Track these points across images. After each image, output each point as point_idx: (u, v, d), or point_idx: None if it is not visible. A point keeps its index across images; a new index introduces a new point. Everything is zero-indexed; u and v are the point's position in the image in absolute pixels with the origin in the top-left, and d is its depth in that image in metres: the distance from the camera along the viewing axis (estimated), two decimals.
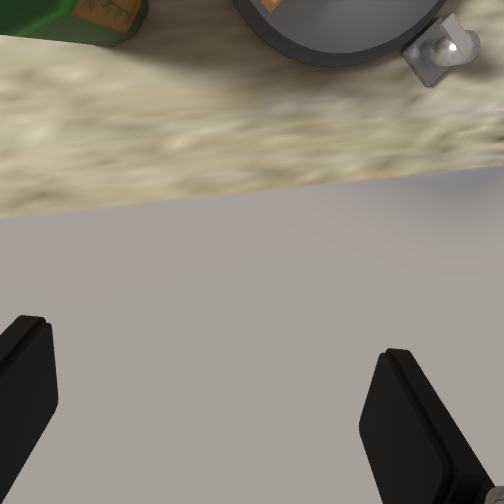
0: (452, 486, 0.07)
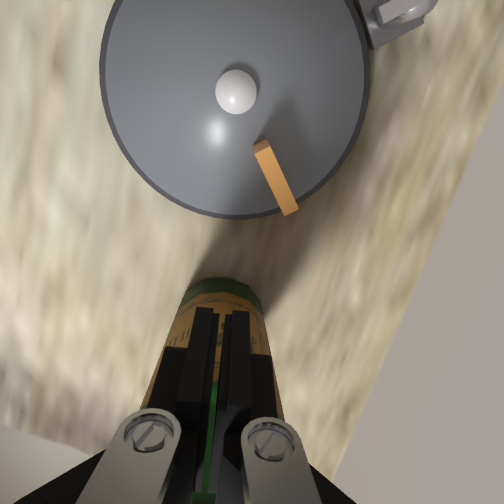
0: (225, 417, 0.08)
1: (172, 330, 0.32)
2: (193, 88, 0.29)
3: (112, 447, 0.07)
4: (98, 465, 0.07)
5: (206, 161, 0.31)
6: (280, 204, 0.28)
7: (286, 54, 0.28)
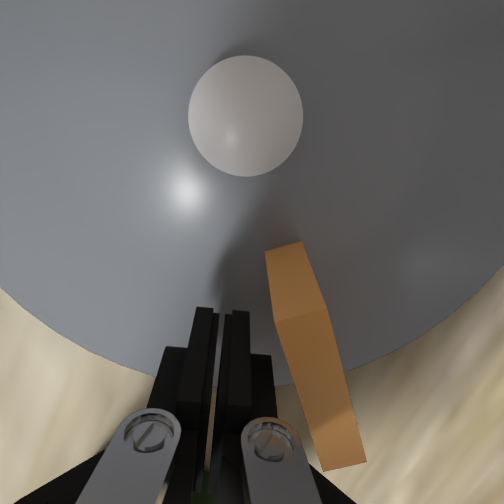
0: (225, 417, 0.08)
1: None
2: (130, 87, 0.10)
3: (112, 447, 0.07)
4: (98, 465, 0.07)
5: (144, 268, 0.12)
6: (319, 447, 0.10)
7: (400, 40, 0.10)
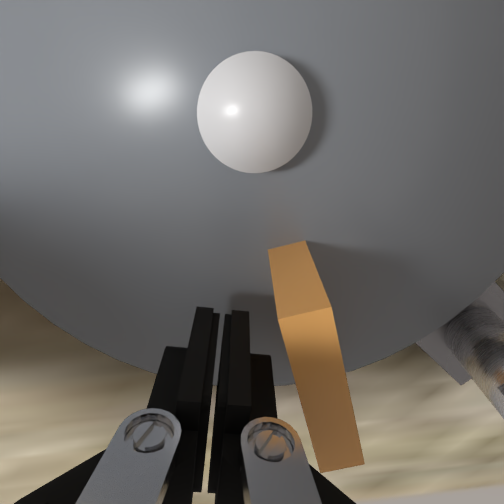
0: (224, 417, 0.08)
1: None
2: (140, 79, 0.10)
3: (112, 447, 0.07)
4: (98, 465, 0.07)
5: (146, 262, 0.12)
6: (318, 447, 0.10)
7: (412, 42, 0.10)
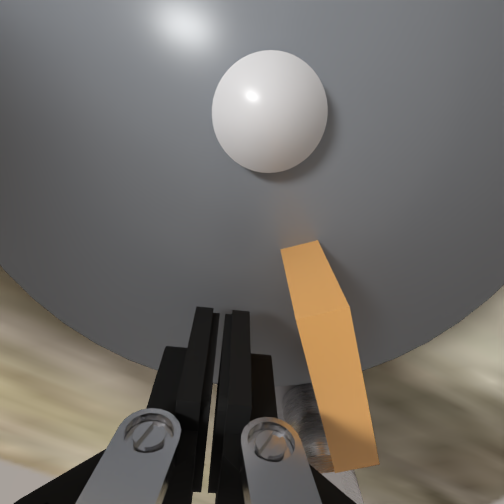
0: (225, 417, 0.08)
1: None
2: (154, 78, 0.10)
3: (112, 447, 0.07)
4: (98, 465, 0.07)
5: (158, 262, 0.12)
6: (333, 448, 0.10)
7: (427, 41, 0.10)
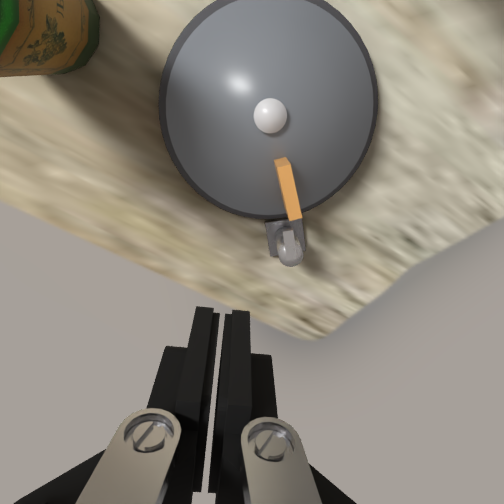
0: (225, 417, 0.08)
1: None
2: (236, 105, 0.36)
3: (112, 447, 0.07)
4: (98, 465, 0.07)
5: (233, 164, 0.38)
6: (288, 211, 0.35)
7: (315, 95, 0.35)
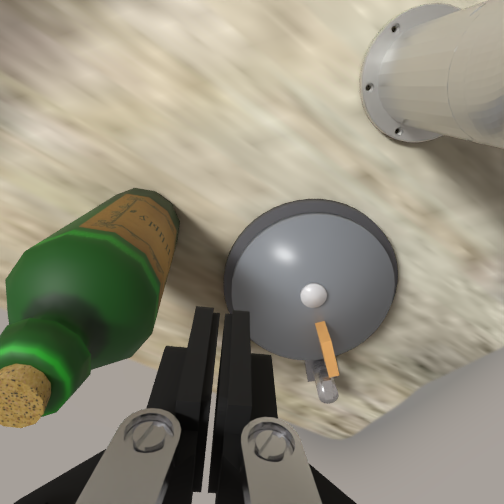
0: (225, 417, 0.08)
1: (162, 224, 0.37)
2: (287, 287, 0.45)
3: (112, 447, 0.07)
4: (98, 465, 0.07)
5: (283, 326, 0.47)
6: (328, 371, 0.45)
7: (349, 280, 0.45)
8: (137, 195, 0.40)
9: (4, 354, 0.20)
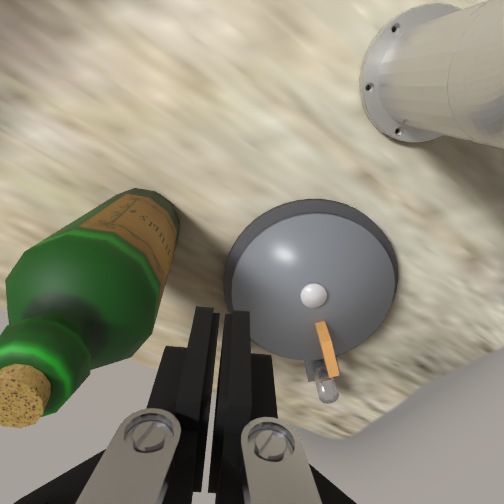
0: (225, 417, 0.08)
1: (163, 224, 0.37)
2: (287, 287, 0.45)
3: (112, 447, 0.07)
4: (98, 465, 0.07)
5: (283, 326, 0.47)
6: (328, 371, 0.45)
7: (349, 280, 0.45)
8: (137, 195, 0.40)
9: (4, 354, 0.20)
